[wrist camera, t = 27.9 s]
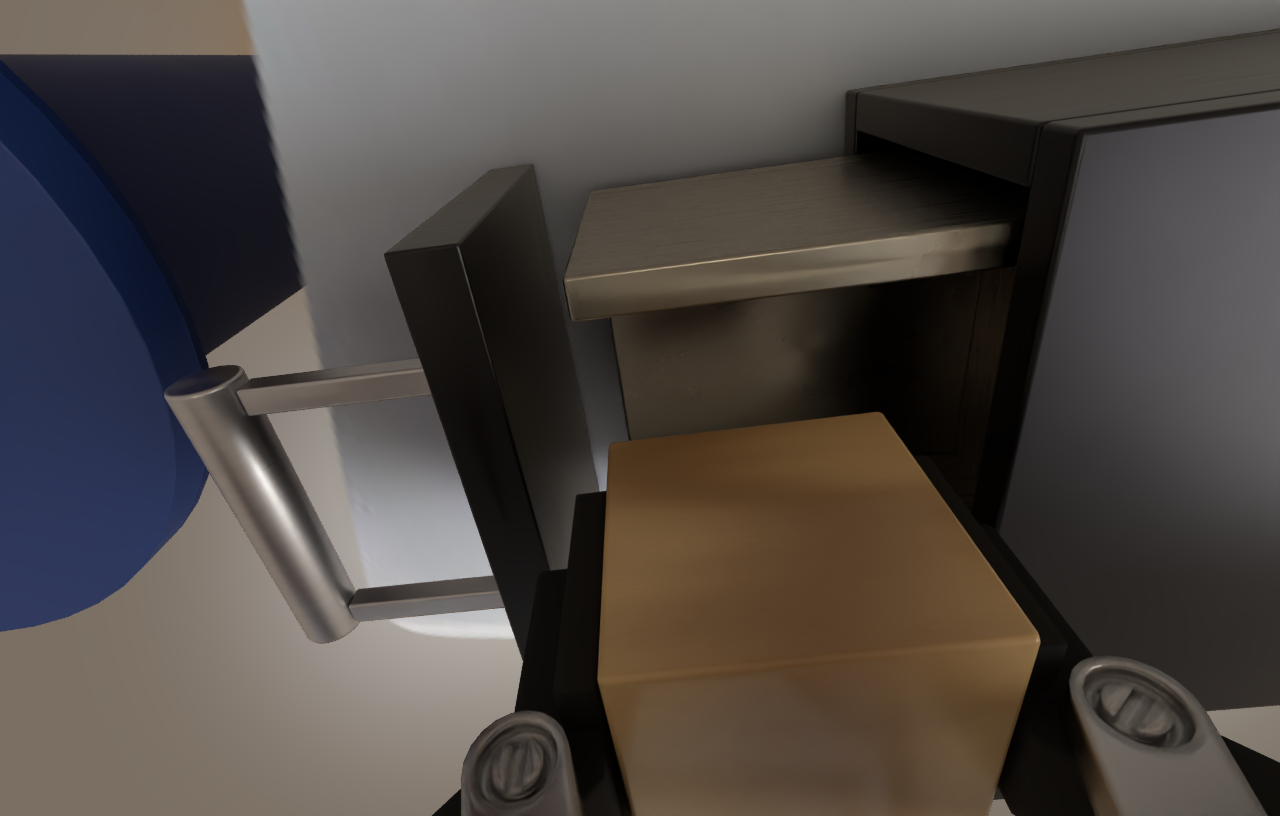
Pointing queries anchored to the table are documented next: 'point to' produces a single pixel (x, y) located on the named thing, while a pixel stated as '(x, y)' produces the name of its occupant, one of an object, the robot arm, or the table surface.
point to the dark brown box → (1133, 341)
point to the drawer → (641, 350)
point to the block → (801, 629)
